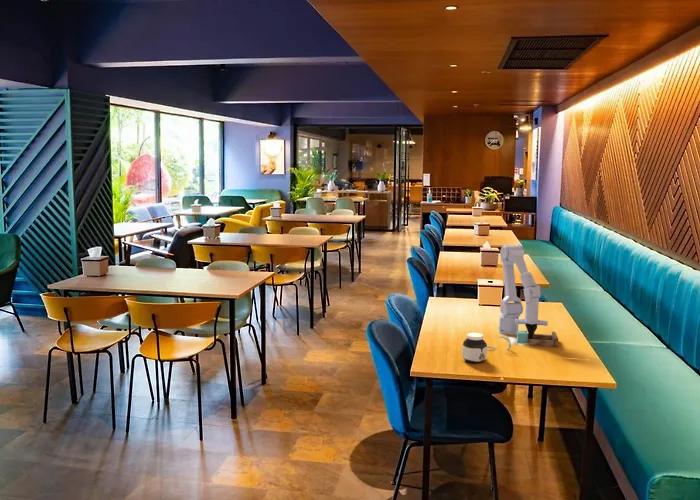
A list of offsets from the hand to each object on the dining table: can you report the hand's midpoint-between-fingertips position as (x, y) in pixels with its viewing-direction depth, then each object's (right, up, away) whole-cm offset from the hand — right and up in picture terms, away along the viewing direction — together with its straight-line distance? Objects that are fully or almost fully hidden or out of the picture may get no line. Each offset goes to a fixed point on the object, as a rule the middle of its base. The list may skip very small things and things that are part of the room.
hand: (530, 339), depth 294 cm
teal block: (-4, -1, +1) cm, 4 cm away
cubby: (+1, -2, 0) cm, 2 cm away
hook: (-22, -4, -10) cm, 24 cm away
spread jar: (-32, -5, -24) cm, 40 cm away
